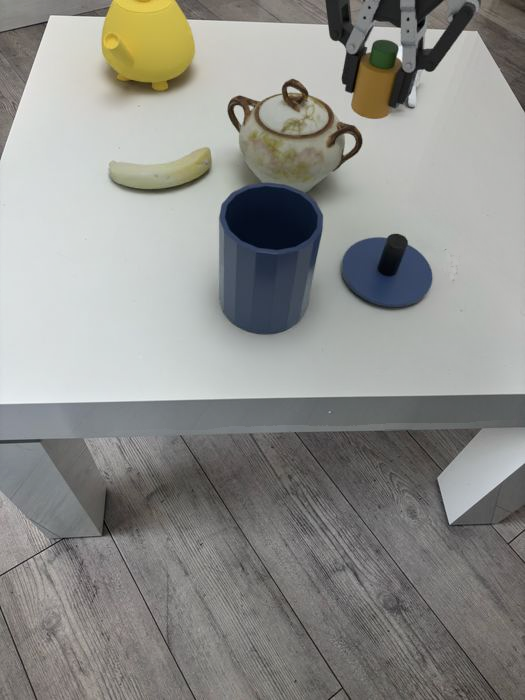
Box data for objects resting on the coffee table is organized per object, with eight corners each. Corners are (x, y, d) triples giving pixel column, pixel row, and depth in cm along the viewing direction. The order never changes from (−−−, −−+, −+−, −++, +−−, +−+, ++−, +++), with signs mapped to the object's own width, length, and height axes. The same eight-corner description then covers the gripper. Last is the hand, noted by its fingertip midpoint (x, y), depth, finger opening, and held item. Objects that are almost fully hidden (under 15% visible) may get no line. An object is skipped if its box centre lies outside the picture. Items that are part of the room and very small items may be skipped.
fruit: (217, 189, 79) (217, 170, 76) (111, 198, 77) (107, 178, 74) (210, 159, 83) (210, 140, 80) (109, 166, 81) (105, 146, 78)
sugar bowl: (206, 187, 79) (203, 88, 67) (246, 133, 87) (250, 36, 75) (333, 228, 76) (355, 132, 64) (363, 168, 84) (387, 73, 72)
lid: (440, 264, 73) (457, 229, 68) (413, 324, 67) (429, 290, 62) (360, 232, 76) (370, 196, 71) (326, 287, 70) (334, 252, 65)
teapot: (160, 119, 88) (151, 30, 77) (75, 95, 90) (54, 5, 79) (209, 62, 99) (208, -23, 88) (133, 42, 101) (122, -44, 90)
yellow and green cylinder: (396, 104, 55) (413, 43, 50) (382, 123, 53) (398, 61, 48) (360, 92, 56) (373, 30, 51) (344, 110, 54) (357, 48, 49)
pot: (320, 288, 69) (339, 205, 58) (282, 348, 64) (295, 268, 53) (246, 256, 72) (250, 170, 61) (203, 311, 66) (200, 227, 55)
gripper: (317, -140, 39) (291, 91, 53) (513, -92, 36) (430, 140, 50) (358, -162, 43) (323, 58, 57) (537, -120, 40) (453, 102, 54)
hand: (373, 95), depth 53 cm, fingers closed on yellow and green cylinder, 4 cm apart
